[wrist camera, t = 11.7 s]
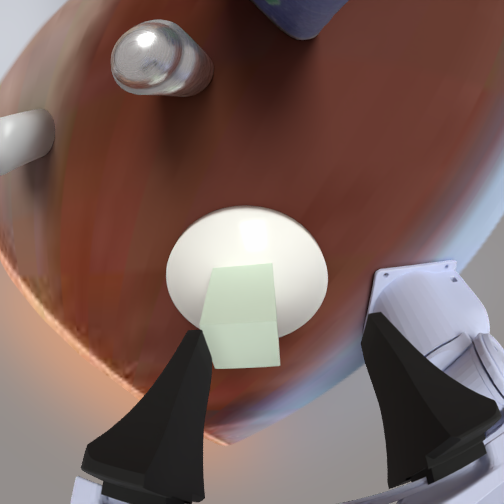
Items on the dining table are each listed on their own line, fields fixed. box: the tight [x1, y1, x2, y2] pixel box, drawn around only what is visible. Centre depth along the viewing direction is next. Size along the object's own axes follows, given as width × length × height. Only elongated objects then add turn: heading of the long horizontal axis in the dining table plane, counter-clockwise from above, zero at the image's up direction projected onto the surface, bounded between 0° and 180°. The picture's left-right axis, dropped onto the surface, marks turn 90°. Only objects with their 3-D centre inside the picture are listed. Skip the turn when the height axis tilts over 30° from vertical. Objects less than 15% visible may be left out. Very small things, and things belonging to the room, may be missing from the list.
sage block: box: [199, 263, 280, 369], centre depth 19 cm, size 4×4×6 cm
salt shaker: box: [111, 20, 214, 97], centre depth 11 cm, size 4×4×9 cm
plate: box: [166, 206, 328, 338], centre depth 22 cm, size 13×13×1 cm
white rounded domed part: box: [0, 109, 55, 175], centre depth 14 cm, size 4×4×5 cm
